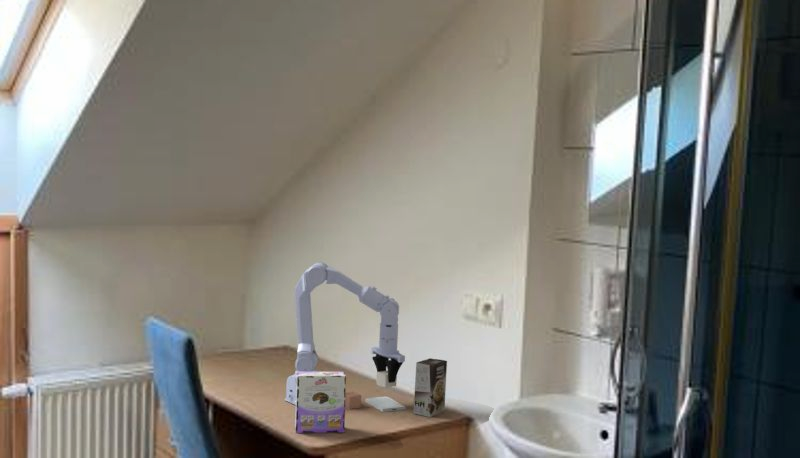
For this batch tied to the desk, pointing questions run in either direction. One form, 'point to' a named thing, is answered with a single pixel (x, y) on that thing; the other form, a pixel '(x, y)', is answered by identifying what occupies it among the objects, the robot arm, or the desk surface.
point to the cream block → (384, 379)
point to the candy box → (320, 402)
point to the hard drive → (385, 404)
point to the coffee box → (430, 387)
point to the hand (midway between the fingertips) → (386, 380)
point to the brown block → (352, 400)
